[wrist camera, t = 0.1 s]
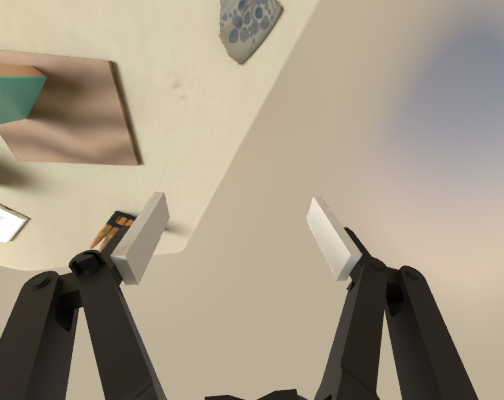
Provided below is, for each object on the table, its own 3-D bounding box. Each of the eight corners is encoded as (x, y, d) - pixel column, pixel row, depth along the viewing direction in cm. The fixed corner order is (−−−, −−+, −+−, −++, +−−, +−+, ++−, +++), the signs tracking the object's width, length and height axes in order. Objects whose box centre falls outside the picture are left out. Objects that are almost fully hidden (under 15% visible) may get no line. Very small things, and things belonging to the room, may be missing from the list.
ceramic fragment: (241, -68, 24) (288, 7, 28) (243, -51, 27) (285, 15, 30) (191, 9, 28) (238, 67, 31) (197, 17, 31) (239, 69, 34)
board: (-52, 45, 29) (-60, 44, 28) (111, 61, 32) (107, 60, 31) (22, 158, 40) (17, 160, 39) (139, 164, 42) (137, 165, 41)
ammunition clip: (114, 215, 50) (84, 250, 40) (116, 210, 49) (85, 244, 39) (155, 229, 54) (137, 264, 44) (157, 224, 53) (139, 259, 43)
